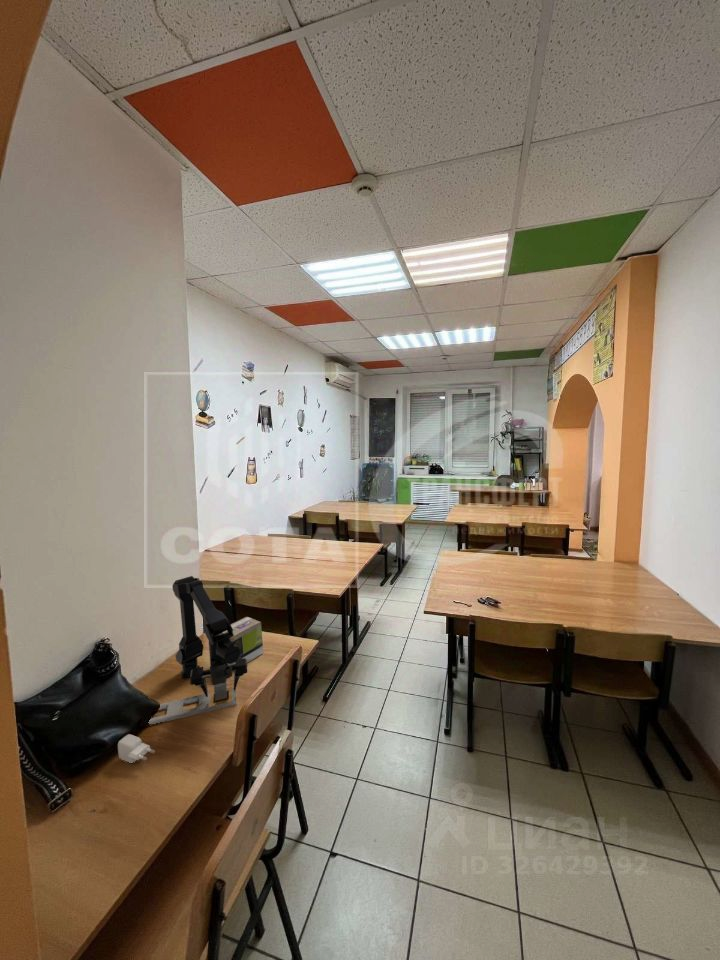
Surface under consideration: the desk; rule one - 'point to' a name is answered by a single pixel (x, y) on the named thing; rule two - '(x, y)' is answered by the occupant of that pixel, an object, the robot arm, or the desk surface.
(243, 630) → the tea box
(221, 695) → the nut block
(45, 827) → the desk surface
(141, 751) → the power adapter
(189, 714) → the rail
